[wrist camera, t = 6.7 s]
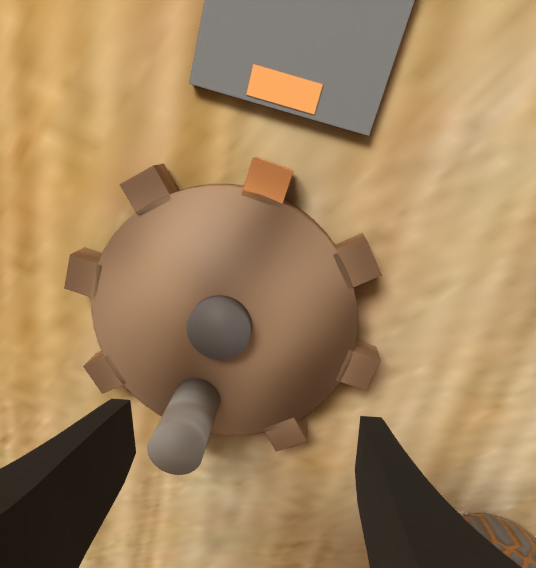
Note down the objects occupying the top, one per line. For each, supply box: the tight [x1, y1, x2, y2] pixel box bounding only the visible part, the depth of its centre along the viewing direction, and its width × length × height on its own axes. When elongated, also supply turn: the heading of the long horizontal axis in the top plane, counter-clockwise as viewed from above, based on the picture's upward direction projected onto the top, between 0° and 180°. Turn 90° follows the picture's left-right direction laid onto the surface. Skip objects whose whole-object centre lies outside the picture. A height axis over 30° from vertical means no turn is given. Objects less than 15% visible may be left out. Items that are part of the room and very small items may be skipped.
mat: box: [189, 0, 415, 136], centre depth 17 cm, size 8×8×1 cm
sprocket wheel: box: [64, 157, 382, 475], centre depth 19 cm, size 16×16×5 cm
